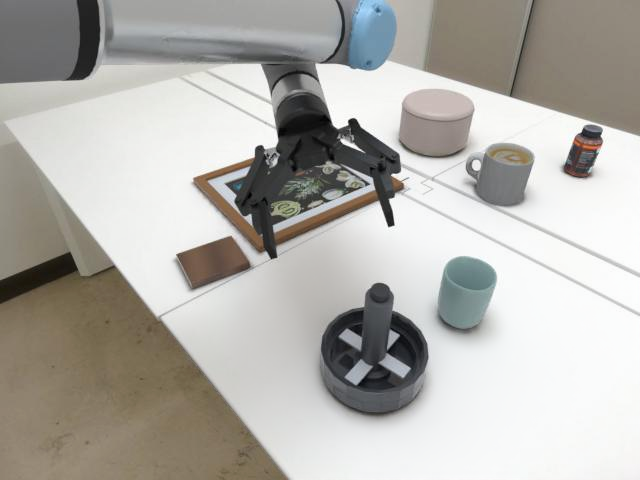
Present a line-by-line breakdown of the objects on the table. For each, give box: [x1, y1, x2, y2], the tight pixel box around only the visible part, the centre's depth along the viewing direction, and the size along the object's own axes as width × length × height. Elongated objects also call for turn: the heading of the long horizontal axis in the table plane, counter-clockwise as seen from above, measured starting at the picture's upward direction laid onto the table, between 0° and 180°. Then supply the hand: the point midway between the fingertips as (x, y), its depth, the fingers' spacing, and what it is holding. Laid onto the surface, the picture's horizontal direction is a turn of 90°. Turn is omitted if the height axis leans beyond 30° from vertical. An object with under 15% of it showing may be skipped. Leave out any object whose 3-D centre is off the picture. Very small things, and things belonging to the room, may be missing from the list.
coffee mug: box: [465, 142, 536, 206], centre depth 101 cm, size 13×10×10 cm
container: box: [398, 88, 476, 157], centre depth 118 cm, size 18×18×12 cm
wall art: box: [192, 156, 405, 253], centre depth 105 cm, size 31×2×38 cm
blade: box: [339, 282, 411, 385], centre depth 61 cm, size 11×11×16 cm
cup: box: [437, 255, 498, 330], centre depth 71 cm, size 8×8×10 cm
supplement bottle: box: [563, 123, 604, 178], centre depth 106 cm, size 6×6×11 cm
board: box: [175, 235, 251, 290], centre depth 85 cm, size 11×9×2 cm
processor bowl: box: [320, 306, 430, 414], centre depth 65 cm, size 15×15×6 cm
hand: (330, 236), depth 50 cm, fingers open, 13 cm apart
